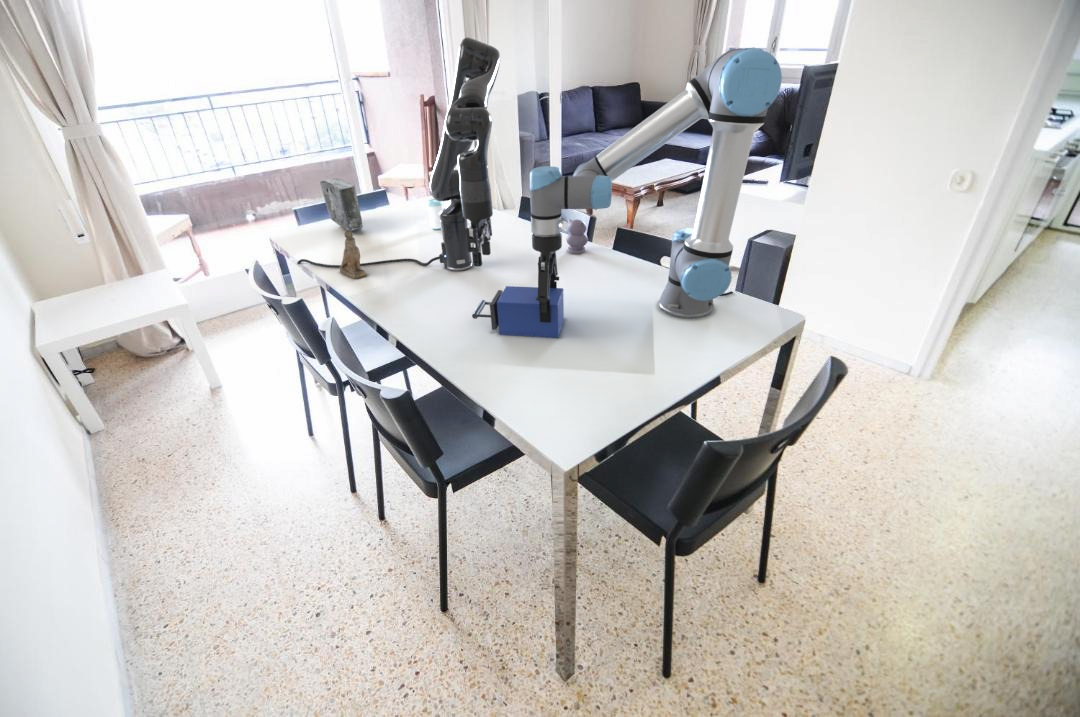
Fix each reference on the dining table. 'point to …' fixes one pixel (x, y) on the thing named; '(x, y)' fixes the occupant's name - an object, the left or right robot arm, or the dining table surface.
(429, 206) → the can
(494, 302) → the drawer
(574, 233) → the cat figurine
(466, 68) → the left robot arm
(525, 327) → the cabinet
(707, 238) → the right robot arm
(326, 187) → the concrete block
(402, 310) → the dining table surface
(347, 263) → the worn brown figurine
